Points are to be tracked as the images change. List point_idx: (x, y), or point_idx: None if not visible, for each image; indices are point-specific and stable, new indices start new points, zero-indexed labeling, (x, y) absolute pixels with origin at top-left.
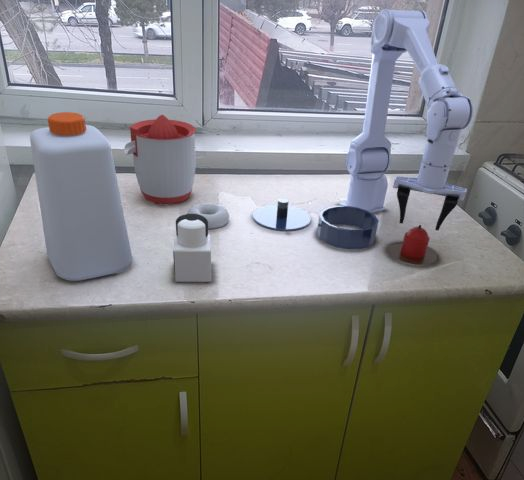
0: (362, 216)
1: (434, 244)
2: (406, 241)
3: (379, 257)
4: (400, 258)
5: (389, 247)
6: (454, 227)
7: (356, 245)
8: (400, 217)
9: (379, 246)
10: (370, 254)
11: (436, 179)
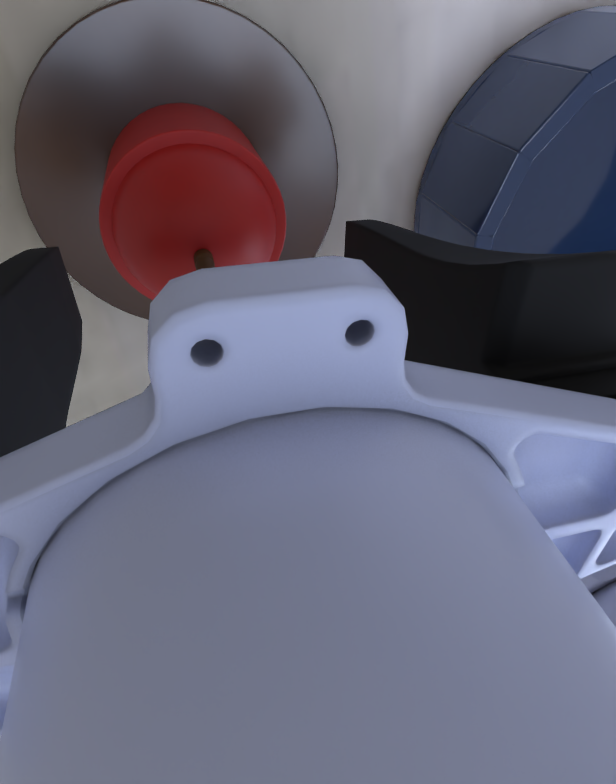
0: None
1: (111, 371)
2: (254, 151)
3: (373, 27)
4: (242, 52)
5: (331, 184)
6: None
7: (543, 43)
8: (394, 225)
9: (382, 190)
10: (429, 45)
11: (205, 689)
